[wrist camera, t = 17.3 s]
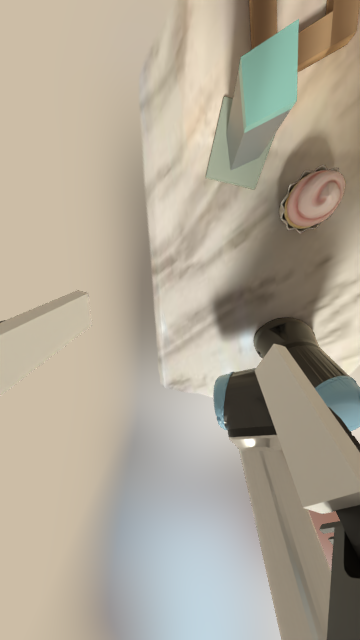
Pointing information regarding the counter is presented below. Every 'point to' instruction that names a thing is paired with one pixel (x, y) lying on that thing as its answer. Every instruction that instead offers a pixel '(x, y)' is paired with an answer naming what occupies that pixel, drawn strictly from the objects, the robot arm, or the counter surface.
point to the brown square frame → (308, 28)
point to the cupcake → (312, 198)
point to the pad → (220, 156)
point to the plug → (262, 95)
